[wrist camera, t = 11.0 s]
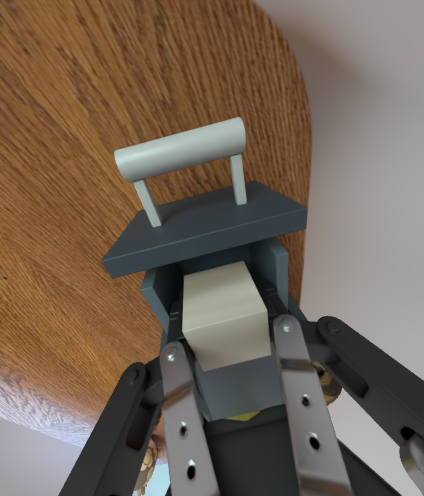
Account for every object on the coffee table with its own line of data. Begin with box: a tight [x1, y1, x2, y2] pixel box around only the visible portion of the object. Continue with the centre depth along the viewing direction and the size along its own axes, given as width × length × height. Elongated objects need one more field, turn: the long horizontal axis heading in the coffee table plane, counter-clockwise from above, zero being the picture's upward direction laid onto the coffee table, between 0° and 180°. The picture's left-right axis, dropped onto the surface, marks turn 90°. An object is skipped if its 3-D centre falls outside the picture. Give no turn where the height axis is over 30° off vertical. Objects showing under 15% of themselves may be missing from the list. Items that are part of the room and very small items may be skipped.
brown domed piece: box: [134, 438, 164, 496], centre depth 46 cm, size 10×11×15 cm
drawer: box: [101, 117, 307, 334], centre depth 14 cm, size 16×11×8 cm, turn 13°
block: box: [182, 261, 271, 371], centre depth 11 cm, size 4×4×4 cm
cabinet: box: [159, 292, 307, 421], centre depth 20 cm, size 13×12×10 cm
